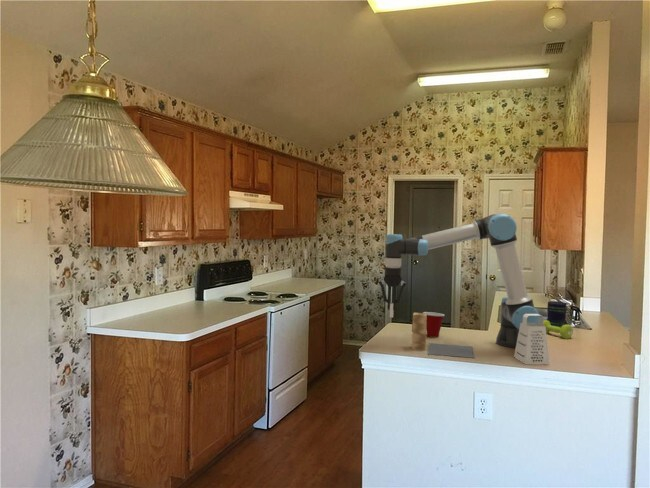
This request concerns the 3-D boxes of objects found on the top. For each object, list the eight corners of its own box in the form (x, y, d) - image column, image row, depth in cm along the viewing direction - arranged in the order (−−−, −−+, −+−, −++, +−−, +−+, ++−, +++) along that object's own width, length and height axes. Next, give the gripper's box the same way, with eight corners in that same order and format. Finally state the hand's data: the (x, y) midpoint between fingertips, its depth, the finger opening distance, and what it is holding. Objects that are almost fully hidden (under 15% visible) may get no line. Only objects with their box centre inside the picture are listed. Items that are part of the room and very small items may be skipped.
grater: (549, 364, 207) (551, 317, 206) (525, 364, 206) (527, 317, 205) (536, 357, 217) (538, 312, 216) (513, 357, 216) (515, 312, 215)
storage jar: (542, 327, 279) (543, 301, 278) (554, 326, 283) (555, 300, 282) (557, 331, 270) (558, 304, 269) (569, 330, 274) (570, 303, 273)
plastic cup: (448, 336, 252) (449, 313, 251) (433, 339, 246) (434, 315, 245) (432, 332, 261) (433, 310, 260) (418, 335, 255) (418, 312, 254)
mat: (472, 346, 233) (472, 346, 233) (475, 358, 213) (475, 357, 213) (429, 343, 237) (429, 343, 237) (428, 354, 218) (428, 353, 218)
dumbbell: (536, 333, 265) (537, 320, 265) (545, 332, 269) (546, 319, 269) (564, 340, 251) (565, 326, 250) (574, 338, 255) (574, 324, 255)
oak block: (425, 347, 231) (426, 313, 230) (425, 350, 225) (426, 315, 224) (412, 345, 232) (413, 312, 231) (411, 349, 226) (412, 314, 226)
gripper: (407, 267, 232) (406, 316, 233) (380, 265, 235) (378, 314, 236) (406, 268, 225) (404, 319, 226) (378, 267, 228) (376, 317, 229)
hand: (391, 316), depth 231 cm, fingers closed
